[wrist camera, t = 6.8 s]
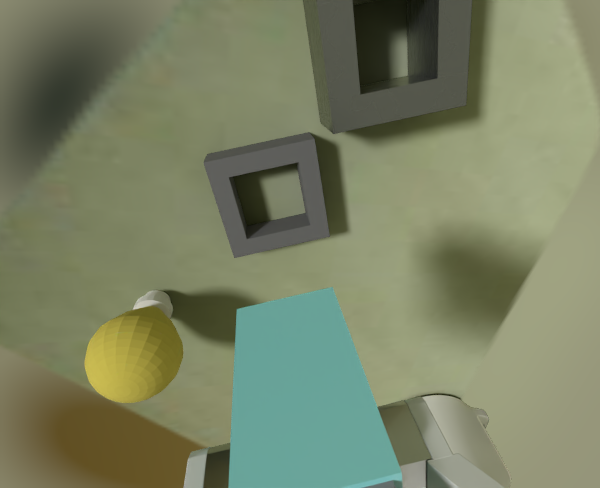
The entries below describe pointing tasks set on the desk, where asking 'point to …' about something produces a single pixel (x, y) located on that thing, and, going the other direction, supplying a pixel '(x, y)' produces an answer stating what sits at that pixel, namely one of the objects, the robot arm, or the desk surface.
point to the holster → (262, 158)
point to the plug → (304, 401)
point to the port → (395, 92)
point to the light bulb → (135, 351)
